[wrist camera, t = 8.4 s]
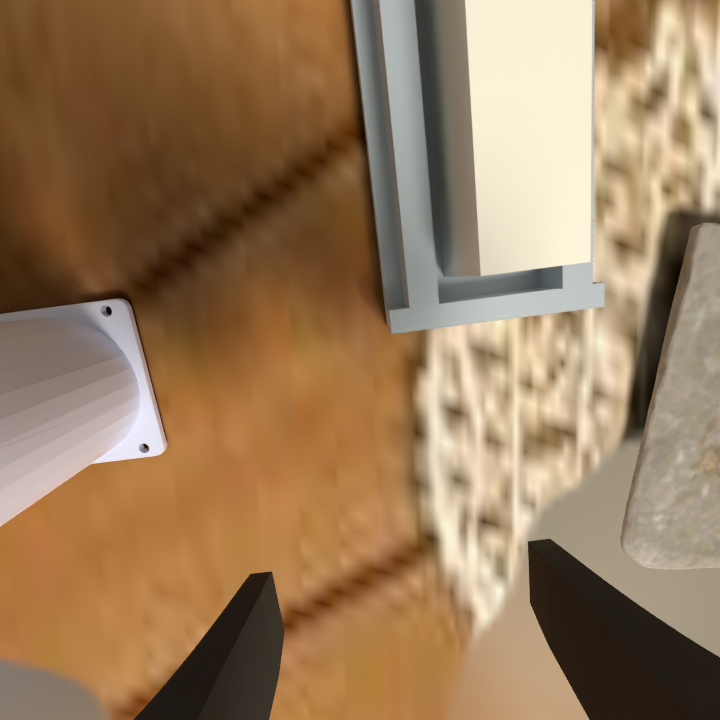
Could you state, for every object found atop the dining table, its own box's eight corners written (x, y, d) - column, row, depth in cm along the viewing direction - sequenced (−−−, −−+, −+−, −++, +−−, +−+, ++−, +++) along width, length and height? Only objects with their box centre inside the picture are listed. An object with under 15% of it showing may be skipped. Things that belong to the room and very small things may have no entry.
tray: (387, 326, 18) (392, 335, 15) (342, -70, 15) (338, -156, 12) (570, 302, 18) (612, 307, 15) (568, -104, 15) (621, -200, 12)
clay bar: (521, 267, 17) (590, 261, 12) (444, 277, 17) (481, 276, 12) (511, -56, 14) (593, -234, 9) (419, -42, 14) (453, -212, 9)
